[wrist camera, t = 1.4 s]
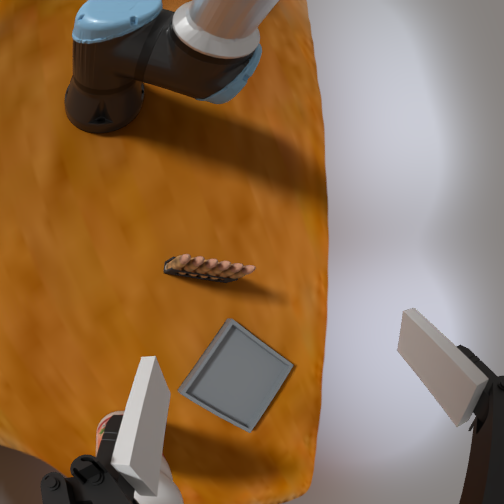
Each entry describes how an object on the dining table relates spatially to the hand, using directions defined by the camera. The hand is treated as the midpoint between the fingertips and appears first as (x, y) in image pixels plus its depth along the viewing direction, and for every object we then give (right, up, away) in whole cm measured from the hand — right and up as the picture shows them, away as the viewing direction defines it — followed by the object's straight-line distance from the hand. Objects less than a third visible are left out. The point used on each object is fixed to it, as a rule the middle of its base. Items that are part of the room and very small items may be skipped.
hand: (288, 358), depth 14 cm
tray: (-4, -16, +33) cm, 37 cm away
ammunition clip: (-11, +2, +33) cm, 35 cm away
